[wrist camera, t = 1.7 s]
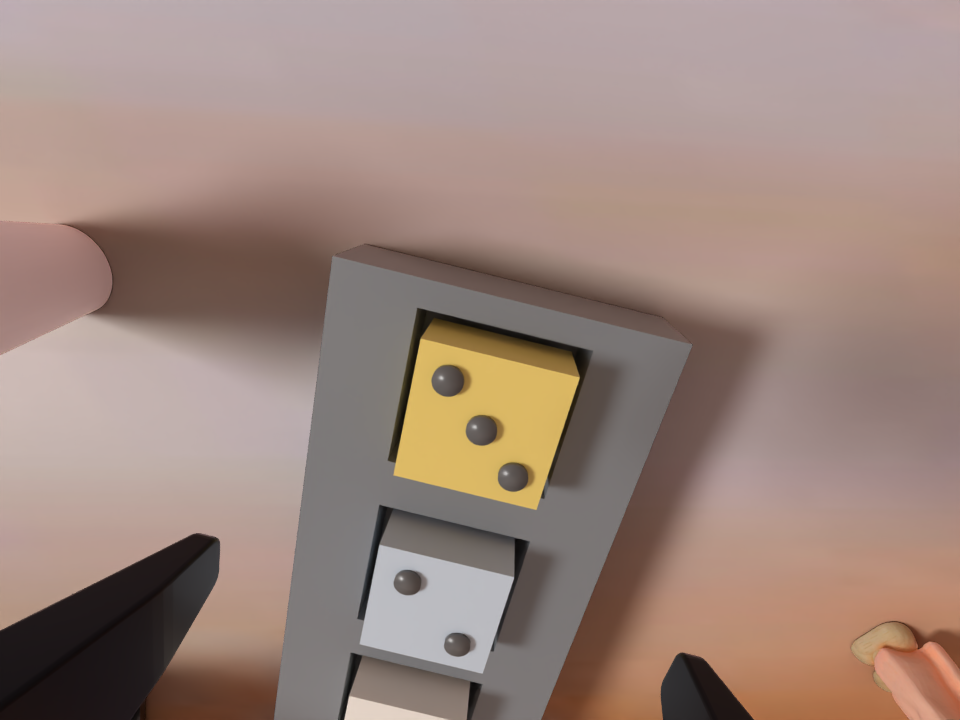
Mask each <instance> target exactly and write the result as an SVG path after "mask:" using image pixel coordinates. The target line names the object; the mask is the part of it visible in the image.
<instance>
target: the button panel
mask: <svg viewBox="0 0 960 720" xmlns="http://www.w3.org/2000/svg"><path fill="white" fill-rule="evenodd" d="M434 318H437V319H441V320H445V321H449V322H453V323H457V324H461V325H465V326H469V327H473V328H477V329H481V330H485V331H489V332H494V333H498V334H502V335H506V336H510V337H514V338H518V339H522V340H526V341H530V342H534V343H538V344H542V345H546V346H551V347H555V348H559V349H563V350H567V351H571V352H572V355H573V358H574V361H575V364H576V367H577V370H578V373H579V376H580V379H579V382H578V385H577V388H576V391H575V394H574V397H573V400H572V403H571V406H570V409H569V412H568V415H567V418H566V421H565V424H564V427H563V430H562V433H561V437H560V440H559V443H558V446H557V449H556V452H555V455H554V458H553V461H552V464H551V467H550V470H549V473H548V476H547V479H546V482H545V485H544V488H543V491H542V494H541V497H540V500H539V504H538V507H537V510H534V509H530V508H526V507H522V506H518V505H514V504H510V503H505V502H501V501H497V500H493V499H489V498H485V497H481V496H477V495H473V494H468V493H464V492H460V491H456V490H452V489H448V488H444V487H440V486H435V485H431V484H427V483H423V482H419V481H415V480H411V479H407V478H403V477H398V476H394V475H393V474H394V469H395V464H396V459H397V454H398V449H399V444H400V439H401V434H402V429H403V424H404V419H405V414H406V409H407V404H408V399H409V394H410V389H411V384H412V379H413V374H414V369H415V364H416V359H417V354H418V349H419V344H420V339H421V337H422V336H423V334H424V333H425V331H426V329H427V328H428V326H429V325H430V323H431V322H432V320H433V319H434ZM692 345H693V344H692V343H690V342H689V341H688V340H687V339H686V338H685V337H684V336H683V335H682V334H681V333H679V332H678V331H677V330H676V329H675V328H674V327H673V326H672V325H671V324H670V323H668V322H667V321H666V320H665V319H664V318H663V317H659V316H655V315H651V314H647V313H642V312H638V311H634V310H630V309H626V308H622V307H618V306H614V305H610V304H606V303H602V302H598V301H594V300H590V299H586V298H582V297H578V296H574V295H569V294H565V293H561V292H557V291H553V290H549V289H545V288H541V287H537V286H533V285H529V284H525V283H521V282H517V281H513V280H509V279H505V278H501V277H497V276H492V275H488V274H484V273H480V272H476V271H472V270H468V269H464V268H460V267H456V266H452V265H448V264H444V263H440V262H436V261H432V260H428V259H424V258H419V257H415V256H411V255H407V254H403V253H399V252H395V251H391V250H387V249H383V248H379V247H375V246H371V245H367V244H363V245H360V246H358V247H355V248H352V249H350V250H347V251H344V252H342V253H339V254H336V255H334V256H332V264H331V271H330V279H329V287H328V295H327V303H326V311H325V319H324V327H323V335H322V343H321V350H320V358H319V366H318V374H317V382H316V390H315V398H314V406H313V414H312V422H311V430H310V437H309V445H308V453H307V461H306V469H305V477H304V485H303V493H302V501H301V509H300V516H299V524H298V532H297V540H296V548H295V556H294V564H293V572H292V580H291V588H290V595H289V603H288V611H287V619H286V627H285V635H284V643H283V651H282V659H281V667H280V675H279V682H278V690H277V698H276V706H275V714H274V720H344V719H345V714H346V709H347V704H348V699H349V695H350V692H351V689H352V686H353V683H354V680H355V677H356V674H357V671H358V668H359V665H360V662H361V659H362V656H363V655H364V656H368V657H372V658H376V659H380V660H384V661H389V662H393V663H397V664H401V665H405V666H409V667H414V668H418V669H422V670H426V671H430V672H434V673H439V674H443V675H447V676H451V677H455V678H459V679H464V680H468V681H470V690H469V700H468V710H467V720H541V718H542V716H543V714H544V711H545V709H546V706H547V704H548V701H549V699H550V696H551V694H552V691H553V689H554V686H555V684H556V681H557V679H558V676H559V674H560V672H561V669H562V667H563V664H564V662H565V659H566V657H567V654H568V652H569V649H570V647H571V644H572V642H573V639H574V637H575V634H576V632H577V630H578V627H579V625H580V622H581V620H582V617H583V615H584V612H585V610H586V607H587V605H588V602H589V600H590V597H591V595H592V592H593V590H594V587H595V585H596V583H597V580H598V578H599V575H600V573H601V570H602V568H603V565H604V563H605V560H606V558H607V555H608V553H609V550H610V548H611V545H612V543H613V541H614V538H615V536H616V533H617V531H618V528H619V526H620V523H621V521H622V518H623V516H624V513H625V511H626V508H627V506H628V503H629V501H630V499H631V496H632V494H633V491H634V489H635V486H636V484H637V481H638V479H639V476H640V474H641V471H642V469H643V466H644V464H645V461H646V459H647V457H648V454H649V452H650V449H651V447H652V444H653V442H654V439H655V437H656V434H657V432H658V429H659V427H660V424H661V422H662V419H663V417H664V415H665V412H666V410H667V407H668V405H669V402H670V400H671V397H672V395H673V392H674V390H675V387H676V385H677V382H678V380H679V377H680V375H681V373H682V370H683V368H684V365H685V363H686V360H687V358H688V355H689V353H690V350H691V348H692ZM393 508H395V509H399V510H403V511H407V512H411V513H415V514H419V515H424V516H428V517H432V518H436V519H440V520H444V521H448V522H452V523H457V524H461V525H465V526H469V527H473V528H477V529H481V530H485V531H490V532H494V533H498V534H502V535H506V536H510V537H514V538H515V558H514V580H513V583H512V586H511V589H510V592H509V595H508V598H507V601H506V604H505V607H504V610H503V613H502V616H501V619H500V622H499V625H498V628H497V632H496V635H495V638H494V641H493V644H492V647H491V650H490V653H489V656H488V659H487V662H486V665H485V668H484V671H483V674H482V673H477V672H473V671H469V670H465V669H461V668H457V667H452V666H448V665H444V664H440V663H436V662H432V661H427V660H423V659H419V658H415V657H411V656H407V655H402V654H398V653H394V652H390V651H386V650H382V649H377V648H373V647H369V646H365V645H361V644H360V639H361V634H362V629H363V624H364V619H365V614H366V609H367V604H368V599H369V594H370V589H371V584H372V579H373V574H374V569H375V564H376V559H377V554H378V549H379V545H380V542H381V539H382V537H383V534H384V532H385V529H386V526H387V524H388V521H389V519H390V516H391V514H392V511H393Z"/></svg>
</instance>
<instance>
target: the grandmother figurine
mask: <svg viewBox="0 0 960 720" xmlns="http://www.w3.org/2000/svg"><path fill="white" fill-rule="evenodd" d="M851 650H852V653H853V654H854V655H855V656H856V658H857V659H858V660H860V661H861V662H863V663H864V664H867V665H870V666H875V672H874V673H873V677H874V681H875V683H876V684H877V685H878V686H879V687H880V688H882V689H883V690H885V691H887V692H891V693H892V696H893V698H894V700H895V702H896V703H897V704H898V705H899V707H900V708H901V709H902V711H903V712H904V713H905V714H906V716H907V717H908V718H909V719H910V720H960V669H959V668H958V666H957V665H956V664H955V663H954V661H953V660H952V659H951V658H950V656H949V655H948V654H947V653H946V651H945V650H944V649H943V648H942V646H940V645H939V644H938V643H935V642H928V643H925V644H924V646H923V647H922V648H920V649H918V644H917V643H916V640H915V637H914V635H913V633H912V632H911V630H910V629H909V628H908V627H907V626H906V625H904V624H902V623H899V622H889V623H884V624H881V625H879V626H877V627H876V628H874V629H872V630H871V631H870V632H868V633H866V634H865V635H863V636H861V637H860V638H859V639H857V640H855V642H854V643H853V644H852V647H851Z"/></svg>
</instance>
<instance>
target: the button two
mask: <svg viewBox="0 0 960 720" xmlns="http://www.w3.org/2000/svg"><path fill="white" fill-rule="evenodd" d="M514 558H515V538H514V537H510V536H506V535H502V534H498V533H494V532H490V531H485V530H481V529H477V528H473V527H469V526H465V525H461V524H457V523H452V522H448V521H444V520H440V519H436V518H432V517H428V516H424V515H419V514H415V513H411V512H407V511H403V510H399V509H395V508H393V511H392V514H391V516H390V519H389V521H388V524H387V526H386V529H385V532H384V534H383V537H382V539H381V542H380V545H379V549H378V554H377V559H376V564H375V569H374V574H373V579H372V584H371V589H370V594H369V599H368V604H367V609H366V614H365V619H364V624H363V629H362V634H361V639H360V644H361V645H365V646H369V647H373V648H377V649H382V650H386V651H390V652H394V653H398V654H402V655H407V656H411V657H415V658H419V659H423V660H427V661H432V662H436V663H440V664H444V665H448V666H452V667H457V668H461V669H465V670H469V671H473V672H477V673H482V674H483V671H484V668H485V665H486V662H487V659H488V656H489V653H490V650H491V647H492V644H493V641H494V638H495V635H496V632H497V628H498V625H499V622H500V619H501V616H502V613H503V610H504V607H505V604H506V601H507V598H508V595H509V592H510V589H511V586H512V583H513V580H514Z"/></svg>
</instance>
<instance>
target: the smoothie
mask: <svg viewBox="0 0 960 720" xmlns="http://www.w3.org/2000/svg"><path fill="white" fill-rule="evenodd" d="M111 290H112V273H111V269H110V266H109V263H108V261H107V259H106V257H105V255H104V253H103V252H102V250H101V249H100V248H99V246H98V245H97V244H96V243H95V242H94V241H93V240H92V239H91V238H90V237H89V236H87V235H86V234H84V233H83V232H81V231H79V230H78V229H75V228H73V227H70V226H67V225H62V224H48V223H30V222H13V221H0V355H2V354H4V353H6V352H8V351H10V350H12V349H14V348H17V347H19V346H21V345H23V344H25V343H27V342H29V341H31V340H34V339H36V338H38V337H40V336H42V335H44V334H46V333H48V332H51V331H53V330H55V329H57V328H59V327H61V326H63V325H65V324H68V323H70V322H72V321H74V320H76V319H78V318H80V317H83V316H85V315H87V314H89V313H91V312H93V311H95V310H97V309H99V308H100V307H102V306H103V305H104V304H105V303H106V301H107V300H108V298H109V296H110V294H111Z"/></svg>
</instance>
